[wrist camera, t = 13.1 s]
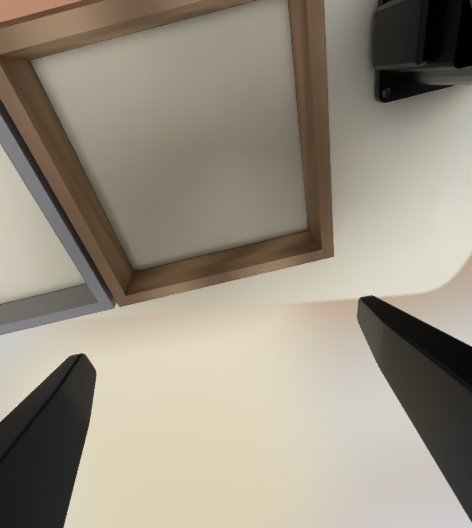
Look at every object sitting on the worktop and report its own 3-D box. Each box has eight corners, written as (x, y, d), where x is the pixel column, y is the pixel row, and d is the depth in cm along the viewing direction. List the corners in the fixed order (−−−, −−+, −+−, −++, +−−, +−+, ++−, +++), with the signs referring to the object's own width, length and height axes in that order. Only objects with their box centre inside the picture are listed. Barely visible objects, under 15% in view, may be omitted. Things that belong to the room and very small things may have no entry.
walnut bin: (301, -34, 15) (321, -58, 12) (319, 237, 23) (333, 256, 20) (5, 45, 15) (-35, 38, 12) (128, 282, 23) (119, 307, 21)
